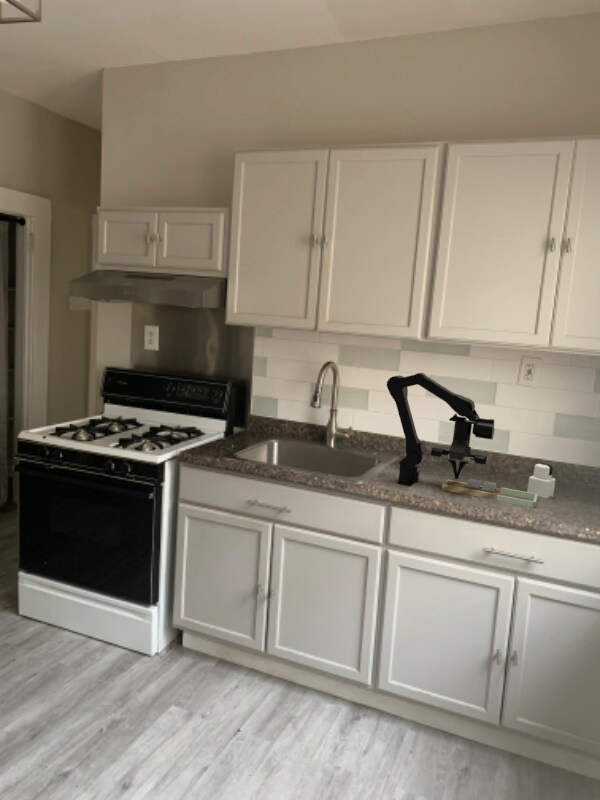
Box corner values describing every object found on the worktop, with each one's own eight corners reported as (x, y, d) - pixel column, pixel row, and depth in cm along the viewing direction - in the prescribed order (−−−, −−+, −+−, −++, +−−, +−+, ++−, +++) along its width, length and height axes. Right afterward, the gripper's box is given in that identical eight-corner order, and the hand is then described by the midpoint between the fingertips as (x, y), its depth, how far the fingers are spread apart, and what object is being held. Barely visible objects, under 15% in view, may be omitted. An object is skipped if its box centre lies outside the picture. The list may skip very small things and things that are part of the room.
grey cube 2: (466, 492, 216) (467, 480, 216) (468, 489, 220) (469, 478, 219) (478, 494, 215) (479, 482, 214) (480, 491, 218) (481, 480, 218)
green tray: (496, 504, 209) (497, 495, 208) (500, 495, 220) (501, 487, 219) (534, 511, 204) (535, 502, 204) (536, 502, 215) (537, 493, 215)
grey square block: (481, 494, 214) (482, 483, 214) (483, 492, 218) (484, 480, 217) (493, 497, 213) (494, 485, 212) (494, 494, 216) (496, 483, 216)
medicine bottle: (532, 493, 227) (537, 460, 225) (553, 498, 223) (557, 465, 221) (525, 496, 222) (530, 463, 220) (546, 501, 217) (551, 467, 215)
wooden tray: (441, 492, 217) (442, 484, 217) (446, 487, 225) (447, 479, 225) (495, 502, 210) (496, 494, 210) (498, 496, 218) (499, 488, 218)
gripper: (430, 434, 213) (424, 478, 215) (486, 443, 206) (480, 489, 208) (436, 429, 223) (431, 472, 226) (490, 437, 216) (485, 481, 218)
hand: (456, 478), depth 219 cm, fingers closed
